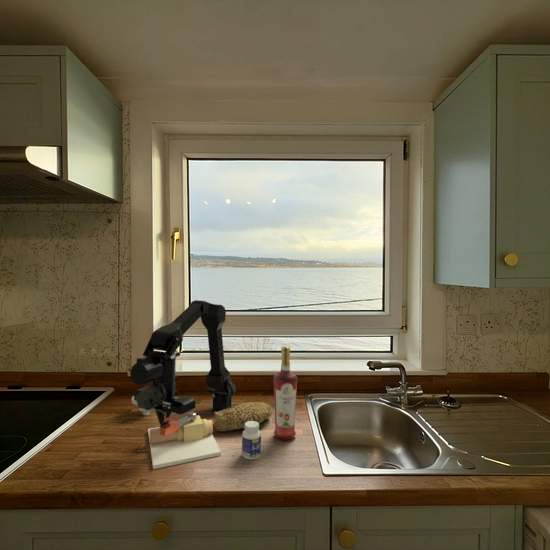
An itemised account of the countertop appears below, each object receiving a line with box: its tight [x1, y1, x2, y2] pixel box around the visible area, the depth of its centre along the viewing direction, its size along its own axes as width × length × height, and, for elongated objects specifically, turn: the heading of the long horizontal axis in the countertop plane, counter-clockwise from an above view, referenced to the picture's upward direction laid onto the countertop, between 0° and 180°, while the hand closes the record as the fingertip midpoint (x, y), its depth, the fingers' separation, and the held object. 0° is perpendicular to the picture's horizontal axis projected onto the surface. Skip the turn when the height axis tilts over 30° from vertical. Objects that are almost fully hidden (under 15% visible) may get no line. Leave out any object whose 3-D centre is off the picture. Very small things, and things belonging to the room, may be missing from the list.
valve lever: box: [159, 411, 197, 436], centre depth 104 cm, size 13×3×2 cm, turn 150°
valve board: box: [147, 414, 222, 470], centre depth 106 cm, size 18×22×6 cm
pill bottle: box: [241, 421, 262, 461], centre depth 100 cm, size 5×5×9 cm
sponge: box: [213, 401, 273, 432], centre depth 119 cm, size 13×8×20 cm
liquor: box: [273, 345, 298, 441], centre depth 110 cm, size 7×7×28 cm
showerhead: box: [131, 395, 153, 416], centre depth 125 cm, size 9×7×10 cm
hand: (163, 428), depth 101 cm, fingers closed
